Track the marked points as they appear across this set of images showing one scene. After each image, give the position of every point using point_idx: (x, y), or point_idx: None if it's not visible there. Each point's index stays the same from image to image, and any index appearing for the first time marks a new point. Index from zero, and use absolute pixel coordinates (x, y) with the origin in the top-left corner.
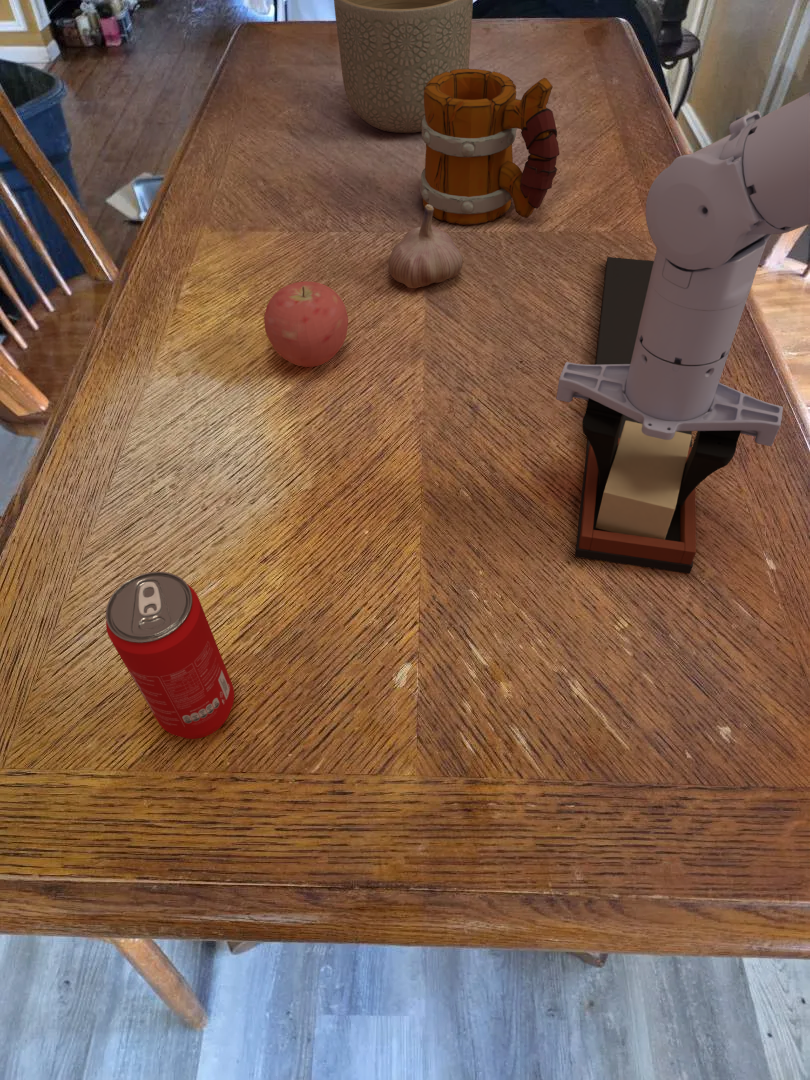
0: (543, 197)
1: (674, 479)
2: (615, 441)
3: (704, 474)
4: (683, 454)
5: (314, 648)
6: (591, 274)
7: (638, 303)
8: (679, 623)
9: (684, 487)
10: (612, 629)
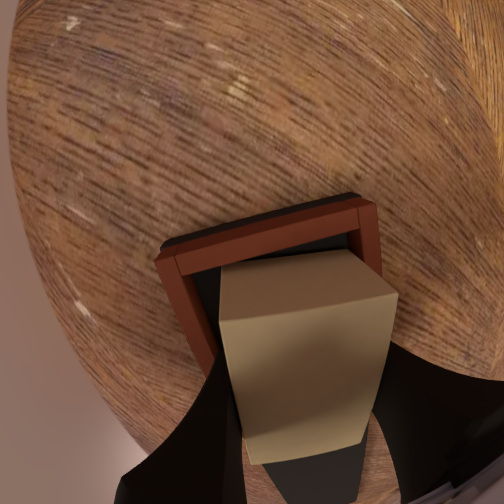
0: (401, 501)
1: (250, 395)
2: (415, 412)
3: (182, 432)
4: (252, 440)
5: (492, 17)
6: (364, 488)
7: (331, 495)
8: (149, 134)
9: (222, 385)
10: (249, 73)
